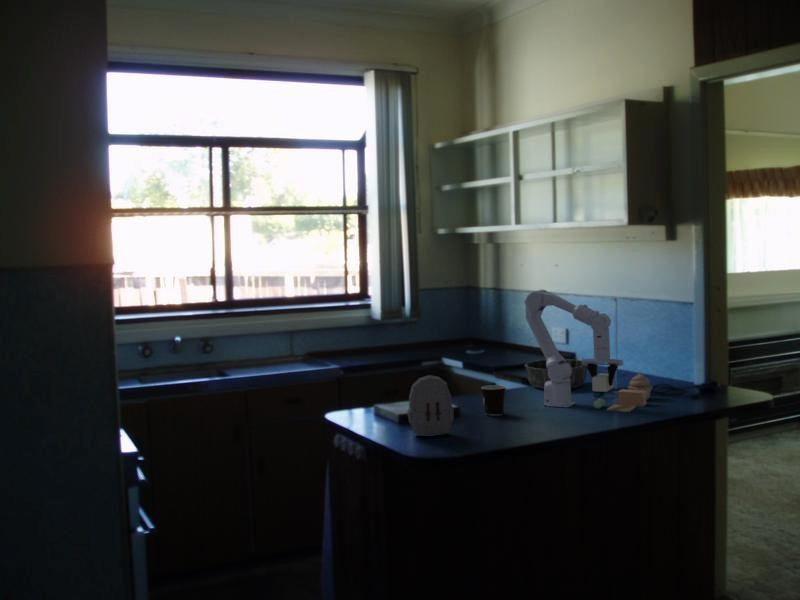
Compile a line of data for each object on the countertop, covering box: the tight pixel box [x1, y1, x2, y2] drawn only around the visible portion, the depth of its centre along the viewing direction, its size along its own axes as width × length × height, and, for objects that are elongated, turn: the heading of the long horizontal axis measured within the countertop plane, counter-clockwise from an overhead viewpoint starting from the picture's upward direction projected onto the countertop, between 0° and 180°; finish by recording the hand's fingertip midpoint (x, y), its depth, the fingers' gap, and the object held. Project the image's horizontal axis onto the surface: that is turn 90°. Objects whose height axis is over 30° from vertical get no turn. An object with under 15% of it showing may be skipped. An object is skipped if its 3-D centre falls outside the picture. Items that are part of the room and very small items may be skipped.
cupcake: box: [627, 372, 654, 401], centre depth 303 cm, size 9×9×10 cm
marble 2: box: [597, 398, 606, 407], centre depth 293 cm, size 3×3×3 cm
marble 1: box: [593, 399, 603, 410], centre depth 290 cm, size 3×3×3 cm
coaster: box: [606, 404, 637, 413], centre depth 287 cm, size 8×8×1 cm
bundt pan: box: [524, 358, 588, 390], centre depth 337 cm, size 26×26×10 cm
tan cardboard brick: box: [617, 388, 647, 407], centre depth 294 cm, size 9×5×5 cm, turn 59°
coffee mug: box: [480, 384, 506, 414], centre depth 289 cm, size 12×9×10 cm
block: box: [591, 373, 615, 393], centre depth 290 cm, size 9×5×5 cm, turn 149°
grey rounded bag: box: [407, 374, 455, 435], centre depth 259 cm, size 15×8×20 cm, turn 98°
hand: (603, 384), depth 290 cm, fingers closed on block, 5 cm apart
